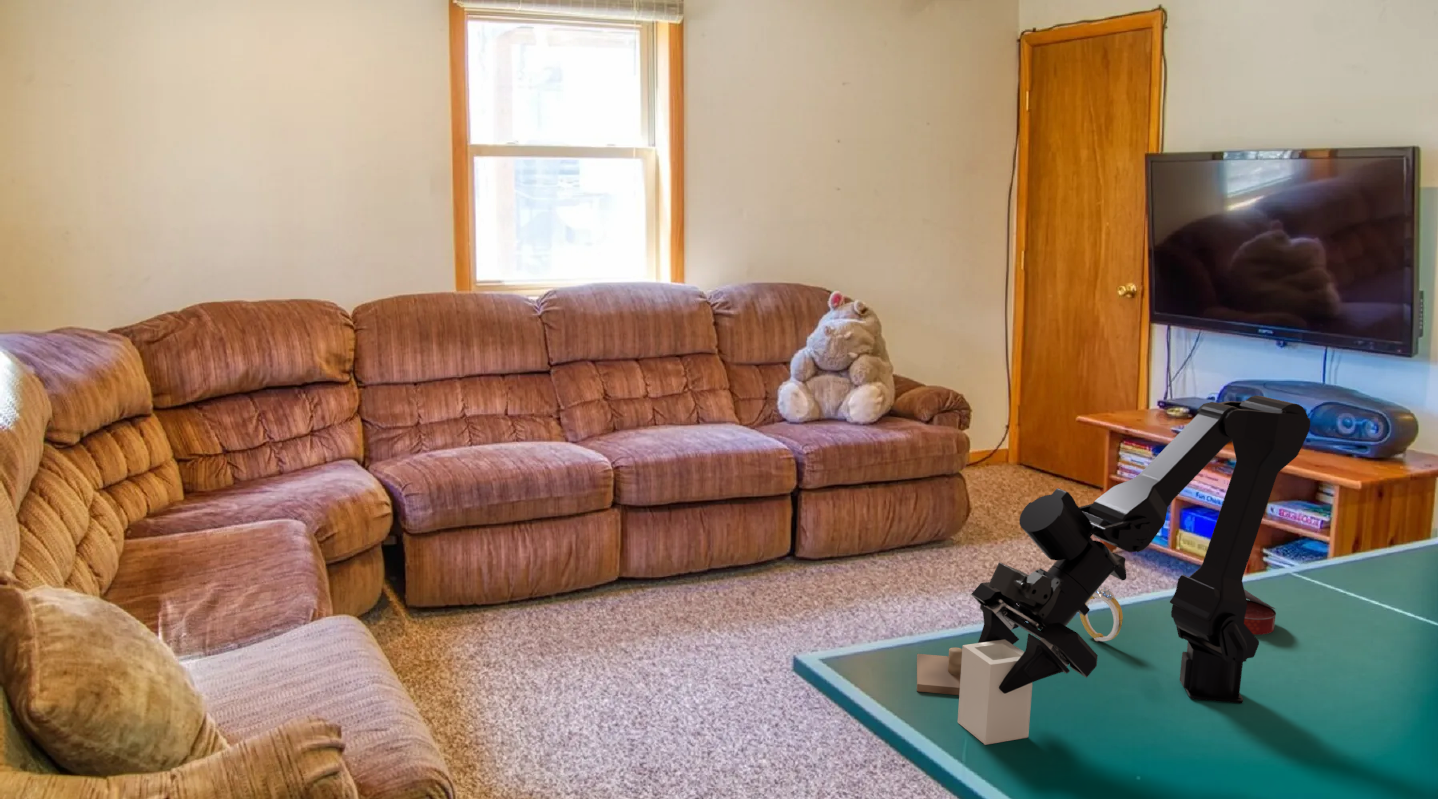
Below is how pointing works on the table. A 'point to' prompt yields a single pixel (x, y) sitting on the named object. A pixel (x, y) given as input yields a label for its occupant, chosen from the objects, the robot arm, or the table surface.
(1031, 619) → the robot arm
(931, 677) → the post stand
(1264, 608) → the canned food
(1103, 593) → the ring
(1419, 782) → the table surface
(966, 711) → the sleeve
